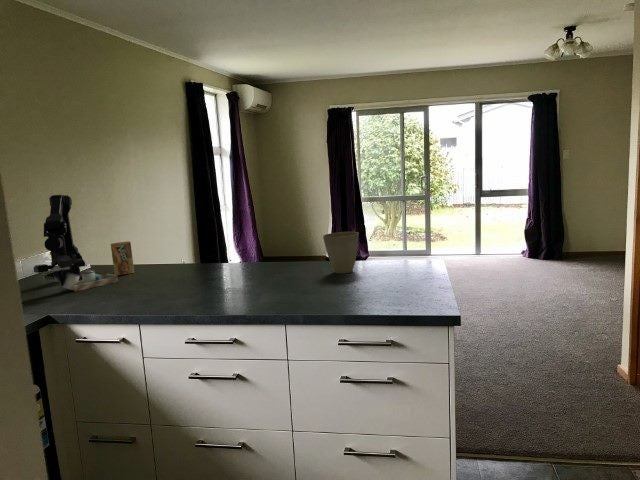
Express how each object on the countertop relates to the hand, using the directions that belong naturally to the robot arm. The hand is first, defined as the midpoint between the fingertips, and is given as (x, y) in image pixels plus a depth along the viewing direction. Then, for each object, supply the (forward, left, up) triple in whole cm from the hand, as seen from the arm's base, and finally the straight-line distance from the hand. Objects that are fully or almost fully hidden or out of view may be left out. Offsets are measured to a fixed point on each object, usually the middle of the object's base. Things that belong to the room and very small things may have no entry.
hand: (62, 286), depth 218 cm
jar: (-1, +3, -2) cm, 3 cm away
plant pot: (+86, +80, -3) cm, 118 cm away
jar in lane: (-1, +12, -3) cm, 12 cm away
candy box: (-12, +33, -3) cm, 35 cm away
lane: (-1, +12, -3) cm, 13 cm away
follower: (-1, +15, -2) cm, 16 cm away
